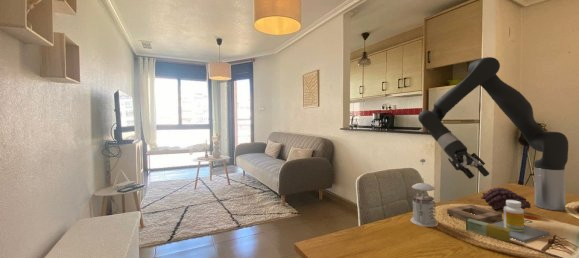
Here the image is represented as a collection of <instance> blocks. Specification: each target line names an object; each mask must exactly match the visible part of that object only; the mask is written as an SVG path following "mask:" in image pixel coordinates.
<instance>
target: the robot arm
mask: <svg viewBox="0 0 579 258" xmlns="http://www.w3.org/2000/svg"><path fill="white" fill-rule="evenodd" d="M500 67H501V65H500V62H499V60H498V59H497V58H495V57H492V56H487V57H482V58H479V59H476V60H474V61H472V62H471V63H470V64H469V66H468V69H467V72H468V74H467V76H465V78H463V79H462V80H461V81H460V82H459V83H457V84H455V86H453V87H452V88H450V89H449V90H447V91H446V92H445V93H443V95H442V96H441V97H440V98H438V99H437V101H435V103H434V104H433V109H432V110H429V109H425V110H422V111H420V113H418V117H417V118H418V119H417V120H418V122H419V123H420V124H421V125H422V127H424V129H426V130H427V131H428V132H429V134H430V135H431V137H432V138H433V140H435V141H436V142H437V144H438V146H439V147H440V148H441V150H442V151H443V152H444V153H445V154H446V155H447V156H448V158H447V161H448V162H449V163H450V164H451V165H452V167H453V169H454V170H456V171H460V172H462V173H463V174H464V175H465V176H466V177H467V178H468V179H470V180H472V179H473V178H474V177H475V174H474V173H473V172H472V171H471V170H470V169H469V168H468V167H467V166H469V167H473V168H475V169H477V171H478V172H479V173H480V174H481V175H482V176H483V177H487V176H489V175H490V172H489V171H488V170H487V169H486V167H484V165H486V162H484V161H483V160H482V159H481V158H480V157H479V156H478V155H477V154H476V153H475V152H473V153H472V154H470V153H468V147H467V145H465V144H464V143H463V142H462V140H460V139H459V138H458V137H457V135H455V134H454V133H453V132H452V131H451V130H450V129H449V128H448V127H447V126H445V124H443V123H442V120H443V119H444V118H445V117H446V115H447V114H448V113H449V112H450V111H451V110H452V109H453V108H454V107H455V106H456V105H458V104H459V103H460V102H461V101H462V100H463V99H465V98H466V97H467V95H469V94H470V93H471V92H473V91H474V90H475V89H476V88H478V87H479V86H480V87H482V89H483V90H484V91H485V92H486V93H487V94H488V96H489V97H490V98H491V99H492V100H493V101H494V102H495V104H496V105H497V106H498V107H499V109H500V110H501V111H502V112H503V113H504V115H506V117H507V118H508V119H509V120H510V121H511V123H513V125H514V126H515V127H516V128H517V129H518V131H519V132H520V133H521V135H522V136H523V138H524V139H525V141H526V143H527V144H528V146H530V147H531V149H533V150H535V151H537V152H542V154H541V155H542V156H541V158H540V159H536V160H535V161H534V162H533V172H534V178H533V179H534V182H533V183H534V206H535V207H538V208H540V209H545V210H550V211H565V210H566V165H567V163H568V160H569V158H568V156H569V139H568V138H567V136H566V135H565V134H564V133H562V132H559V131H546V130H544V129H543V128H542V127H541V126H540V125H539V124H538V123H537V121H536V120H535V118H534V110H533V107H532V104H531V103H530V102H529V100H528V99H527V98H526V97H525V96H524V95H523V94H522V93H521V92H520V91H519V90H517V89H516V88H515V87H513V86H511V85H509V84H508V83H506V82H504V80H502V79H501V78H500V77H499V76H498V75H497V73H498V72H499V70H500Z"/></svg>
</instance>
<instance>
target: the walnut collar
mask: <svg viewBox="0 0 579 258" xmlns="http://www.w3.org/2000/svg"><path fill="white" fill-rule="evenodd" d="M471 213H472V214H471ZM446 214H449V215H451V216H453V217H452V218H454V217H455V218H454V219H457V218H458V220H459V219H460V220H459V221H462V222H465V223H466V220H467V219H468V218H470V219H473V220H477V221H481V222H485V223H489V224H493V223H497V222H501V221H503V213H500V212H497V211H494V210H491V209H486V208H485V207H481V206H477V205H474V204H467V205H462V206H456V207H452V208H447V210H446ZM474 214H475V215H474ZM451 216H450V217H451Z"/></svg>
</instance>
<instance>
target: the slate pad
mask: <svg viewBox="0 0 579 258" xmlns="http://www.w3.org/2000/svg"><path fill="white" fill-rule="evenodd" d="M492 224H493V225H497V226H501V227H504V220H500V221H496V222H492ZM550 234H551V233H550V232H549V231H546V230H543V229H539V228H536V227H532V226H530V225H526V224H524V231H522V232H516V231H511V230H510V236H511V239H512V238H513V239H512V240H514V239H516V240H515V241H517V240H518V242H520V241H521V242H520V243H523V242H524V243H527V242H531V241H534V240H537V239H540V237H541V238H544V237H547V235H548V236H550ZM543 236H544V237H543Z"/></svg>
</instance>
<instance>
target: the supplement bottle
mask: <svg viewBox="0 0 579 258" xmlns="http://www.w3.org/2000/svg"><path fill="white" fill-rule="evenodd" d="M506 205H507V206H505V207H504V209H503V211H502V212H503V221H504V227H505V228H508V229H510V230H511V231H516V232H522V231H524V225H525V209H522V208H520V207H521V202H519V201H515V200H506Z"/></svg>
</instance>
